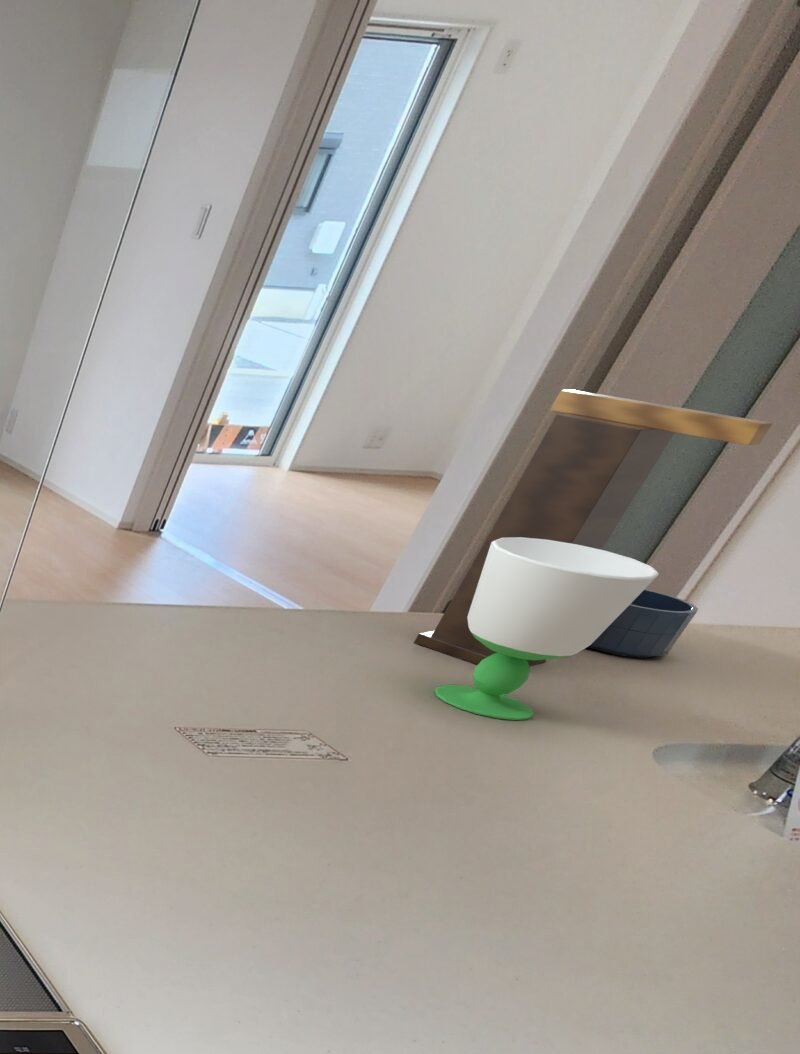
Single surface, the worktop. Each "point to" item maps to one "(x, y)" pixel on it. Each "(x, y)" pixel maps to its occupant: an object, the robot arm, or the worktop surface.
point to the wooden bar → (662, 417)
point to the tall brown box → (559, 506)
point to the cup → (540, 614)
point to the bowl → (646, 626)
